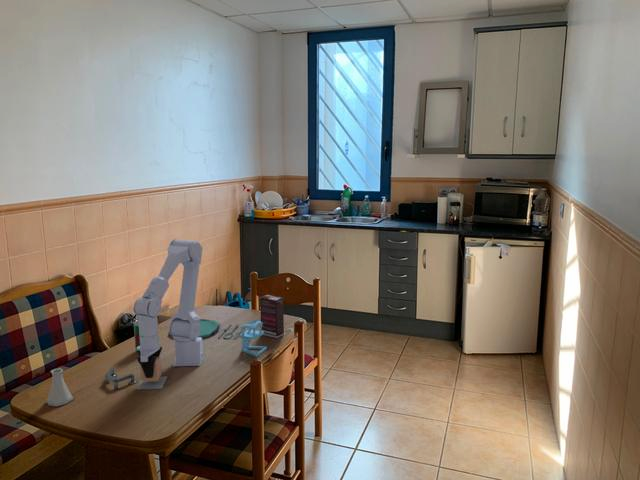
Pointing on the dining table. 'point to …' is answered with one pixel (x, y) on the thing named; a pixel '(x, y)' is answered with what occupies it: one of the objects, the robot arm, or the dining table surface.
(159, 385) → the mat
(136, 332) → the soda can
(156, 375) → the pink block with hole
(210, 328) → the cutlery set
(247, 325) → the chair
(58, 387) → the flask
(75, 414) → the dining table surface
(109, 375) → the bent jointed bar linkage
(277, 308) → the supplement box
